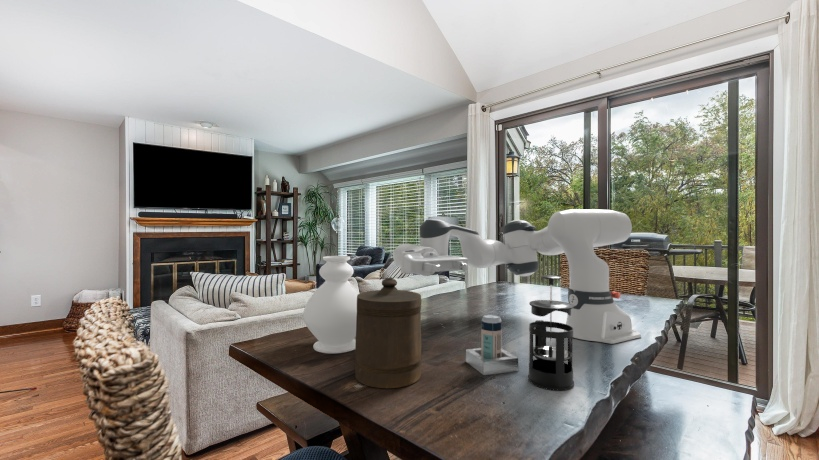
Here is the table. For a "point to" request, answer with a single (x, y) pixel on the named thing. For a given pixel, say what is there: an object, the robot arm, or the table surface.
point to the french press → (549, 359)
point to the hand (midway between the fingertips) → (451, 267)
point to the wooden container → (388, 337)
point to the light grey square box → (492, 362)
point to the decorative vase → (333, 308)
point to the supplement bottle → (491, 336)
